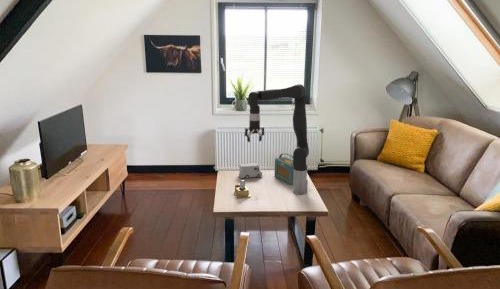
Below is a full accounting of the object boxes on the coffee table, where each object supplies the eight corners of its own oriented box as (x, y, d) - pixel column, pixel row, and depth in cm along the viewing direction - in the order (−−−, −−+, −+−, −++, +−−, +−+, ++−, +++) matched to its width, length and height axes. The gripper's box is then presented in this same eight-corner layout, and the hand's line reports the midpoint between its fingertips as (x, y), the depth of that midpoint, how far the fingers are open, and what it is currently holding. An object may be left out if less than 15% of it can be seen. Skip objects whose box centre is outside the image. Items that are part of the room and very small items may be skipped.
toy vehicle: (262, 177, 291) (262, 165, 289) (240, 179, 287) (240, 167, 285) (259, 174, 299) (259, 162, 297) (238, 175, 295) (238, 163, 293)
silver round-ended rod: (243, 193, 255) (244, 179, 252) (245, 195, 252) (245, 181, 249) (239, 193, 254) (239, 180, 251) (240, 195, 250) (240, 181, 248)
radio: (273, 175, 296) (274, 151, 291) (284, 173, 301) (285, 150, 296) (291, 185, 274) (292, 159, 269) (303, 183, 278) (304, 157, 274)
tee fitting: (244, 190, 262) (244, 183, 261) (250, 197, 250) (250, 190, 249) (232, 192, 259) (232, 185, 258) (238, 198, 247) (238, 191, 246)
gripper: (262, 118, 268) (261, 139, 272) (243, 119, 264) (243, 141, 268) (265, 119, 261) (265, 142, 265) (246, 120, 257) (246, 143, 261)
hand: (254, 141), depth 266 cm, fingers open, 8 cm apart
